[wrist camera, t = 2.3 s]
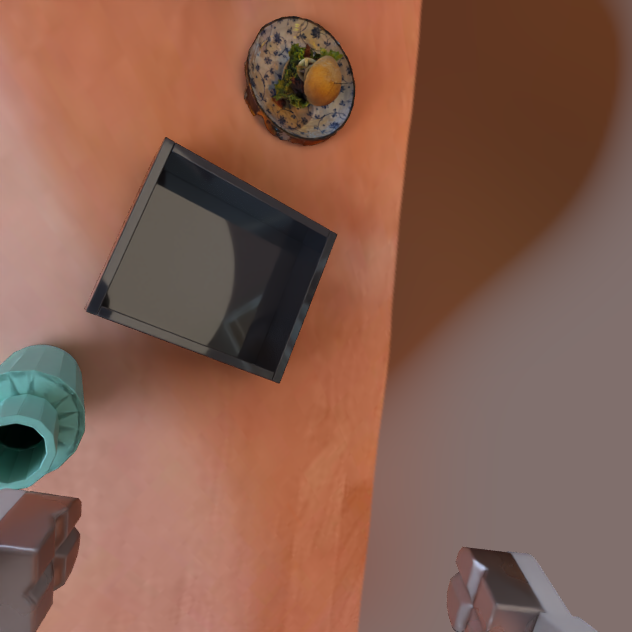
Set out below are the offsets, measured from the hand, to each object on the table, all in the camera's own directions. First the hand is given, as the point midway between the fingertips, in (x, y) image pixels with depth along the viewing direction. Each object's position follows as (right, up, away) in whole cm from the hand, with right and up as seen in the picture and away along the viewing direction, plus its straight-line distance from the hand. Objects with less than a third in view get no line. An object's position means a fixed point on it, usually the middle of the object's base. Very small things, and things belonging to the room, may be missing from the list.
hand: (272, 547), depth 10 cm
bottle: (-22, 0, +29) cm, 36 cm away
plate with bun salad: (-1, +28, +38) cm, 48 cm away
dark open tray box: (-9, +9, +35) cm, 37 cm away
